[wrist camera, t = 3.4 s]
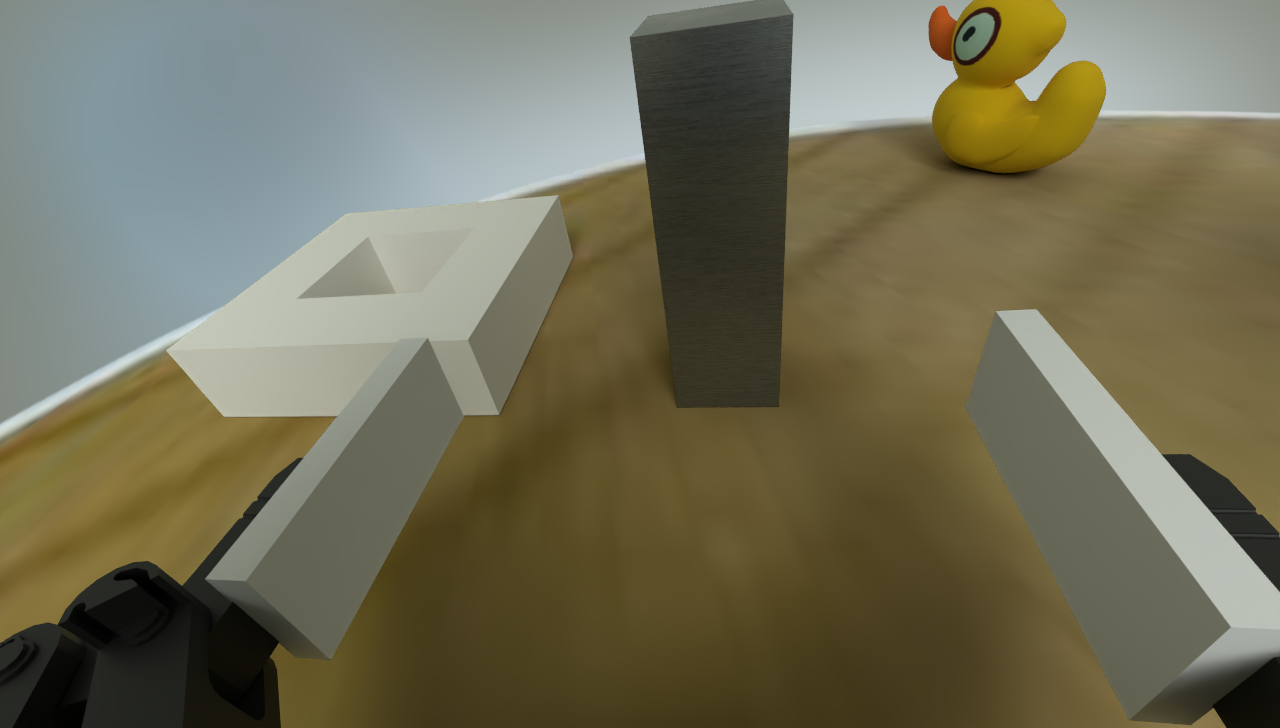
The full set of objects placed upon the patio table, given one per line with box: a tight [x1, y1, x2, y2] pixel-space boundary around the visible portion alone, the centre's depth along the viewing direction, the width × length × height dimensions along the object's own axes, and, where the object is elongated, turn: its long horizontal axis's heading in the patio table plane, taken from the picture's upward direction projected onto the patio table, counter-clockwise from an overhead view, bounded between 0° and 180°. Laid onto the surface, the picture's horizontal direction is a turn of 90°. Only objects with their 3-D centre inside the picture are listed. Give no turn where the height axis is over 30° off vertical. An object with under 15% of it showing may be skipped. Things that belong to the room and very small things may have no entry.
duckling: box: [929, 0, 1106, 173], centre depth 33 cm, size 11×5×10 cm, turn 27°
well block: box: [166, 195, 573, 417], centre depth 28 cm, size 14×14×4 cm
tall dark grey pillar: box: [630, 0, 793, 408], centre depth 19 cm, size 4×4×13 cm
